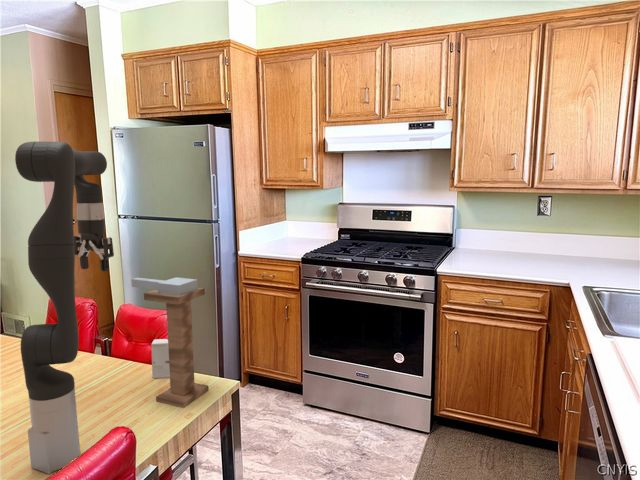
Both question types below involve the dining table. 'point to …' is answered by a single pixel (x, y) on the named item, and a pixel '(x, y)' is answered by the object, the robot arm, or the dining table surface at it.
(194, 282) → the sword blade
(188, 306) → the brown wooden stand
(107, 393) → the dining table surface
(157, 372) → the skincare box
